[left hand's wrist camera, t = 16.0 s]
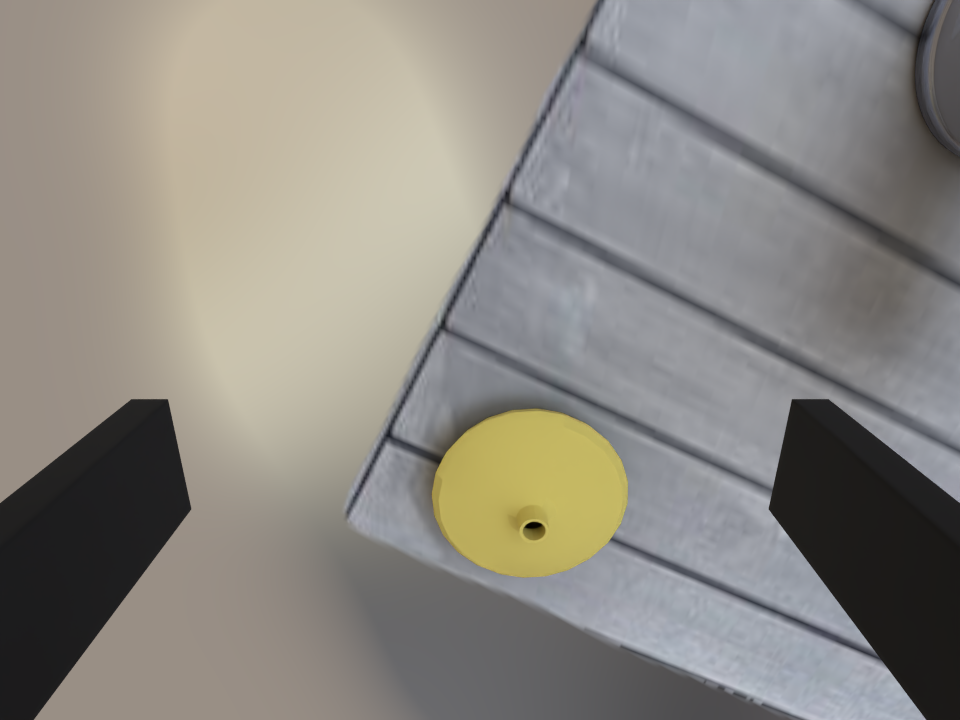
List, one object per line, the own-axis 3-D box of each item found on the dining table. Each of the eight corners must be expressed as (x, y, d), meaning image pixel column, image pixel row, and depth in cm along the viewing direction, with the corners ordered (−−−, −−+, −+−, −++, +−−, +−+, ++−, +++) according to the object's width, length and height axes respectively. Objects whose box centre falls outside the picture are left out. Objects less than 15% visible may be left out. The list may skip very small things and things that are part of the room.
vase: (575, 362, 47) (590, 401, 40) (647, 512, 52) (672, 568, 45) (400, 442, 49) (388, 491, 43) (485, 577, 55) (486, 639, 48)
